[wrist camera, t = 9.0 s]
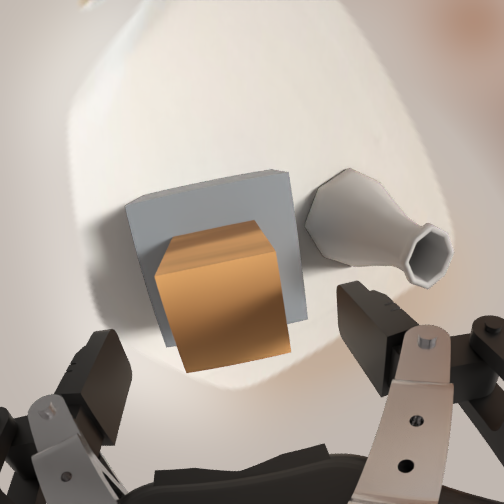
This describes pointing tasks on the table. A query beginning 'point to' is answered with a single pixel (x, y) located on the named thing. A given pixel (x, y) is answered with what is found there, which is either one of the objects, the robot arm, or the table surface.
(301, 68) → the table surface
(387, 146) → the table surface
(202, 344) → the orange block
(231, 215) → the pedestal
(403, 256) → the flask
